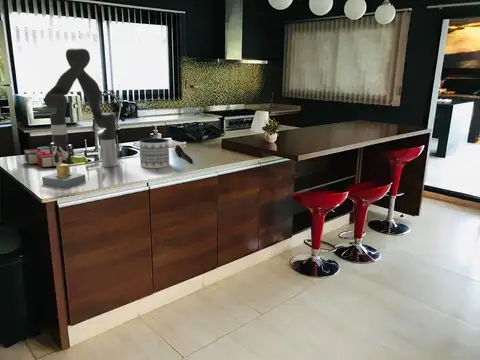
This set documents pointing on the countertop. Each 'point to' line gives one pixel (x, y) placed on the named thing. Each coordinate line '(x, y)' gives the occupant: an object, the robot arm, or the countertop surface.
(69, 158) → the robot arm
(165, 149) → the planter
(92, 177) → the countertop surface
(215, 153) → the countertop surface
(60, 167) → the peg
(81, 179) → the hole block
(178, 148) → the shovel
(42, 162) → the toy
